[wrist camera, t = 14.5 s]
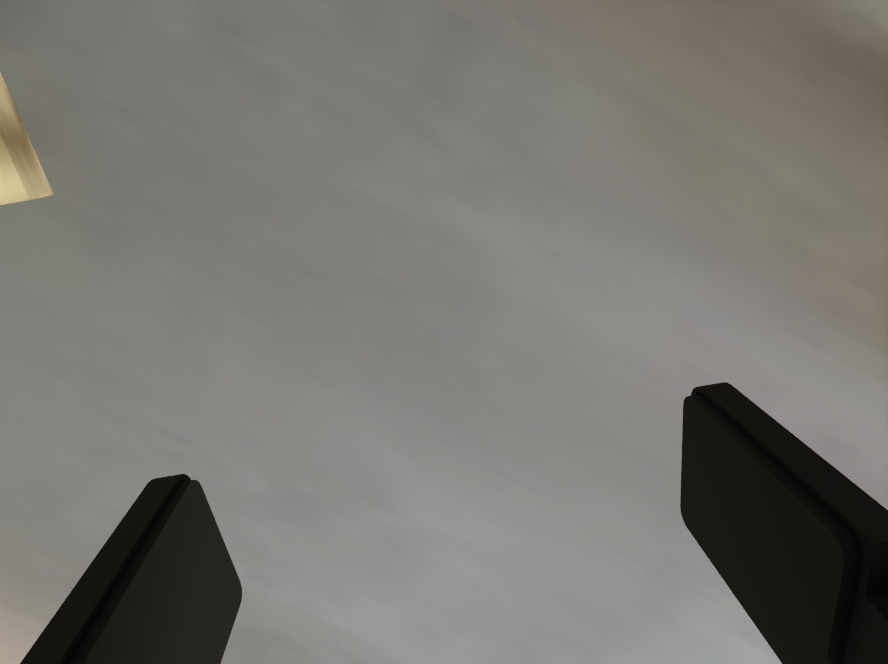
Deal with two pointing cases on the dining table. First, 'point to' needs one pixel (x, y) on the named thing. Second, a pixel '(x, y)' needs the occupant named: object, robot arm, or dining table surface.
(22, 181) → the tower base
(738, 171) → the dining table surface
